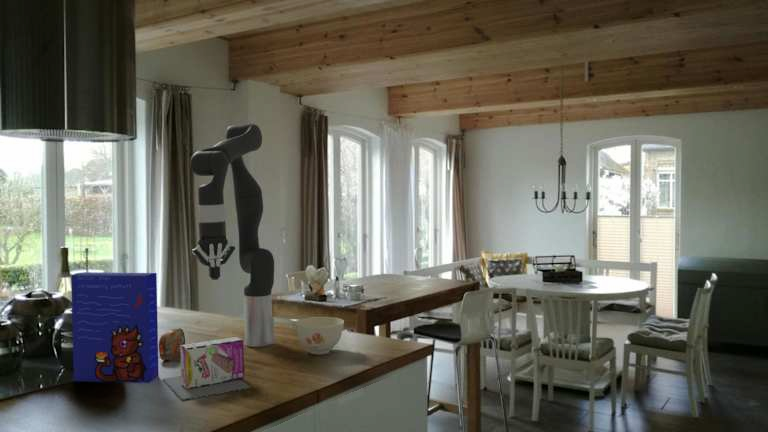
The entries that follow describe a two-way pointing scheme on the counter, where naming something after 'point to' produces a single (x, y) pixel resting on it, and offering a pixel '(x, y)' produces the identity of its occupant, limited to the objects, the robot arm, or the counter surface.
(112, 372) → the cereal box
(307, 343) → the bowl
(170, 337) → the tin
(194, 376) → the candy bar box
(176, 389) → the mat
